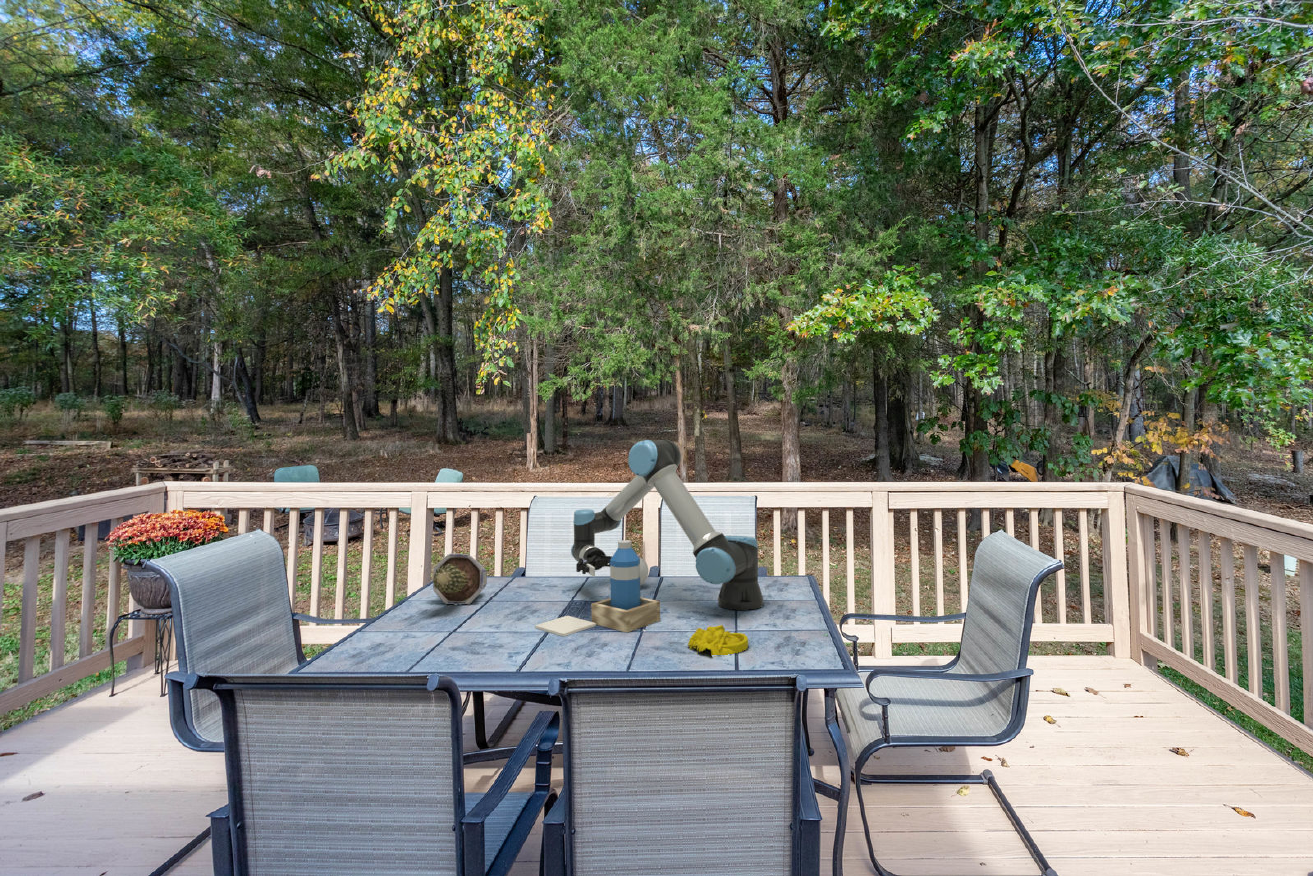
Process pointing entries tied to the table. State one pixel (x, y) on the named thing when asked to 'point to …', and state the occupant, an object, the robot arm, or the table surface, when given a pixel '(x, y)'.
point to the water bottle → (625, 577)
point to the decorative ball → (643, 571)
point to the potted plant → (459, 579)
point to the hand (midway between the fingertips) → (613, 569)
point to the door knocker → (718, 641)
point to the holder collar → (625, 615)
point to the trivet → (565, 625)
